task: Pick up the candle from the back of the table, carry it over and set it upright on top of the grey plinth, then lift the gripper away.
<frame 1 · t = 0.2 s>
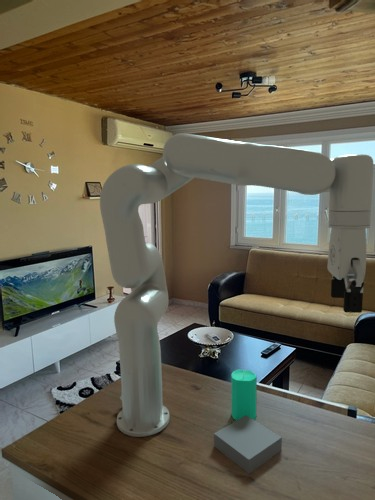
hand: (345, 304, 73), 31 cm above the table, tool pointing down, fingers open, 9 cm apart
candle: (243, 415, 88), on the table
plinth: (247, 448, 76), on the table
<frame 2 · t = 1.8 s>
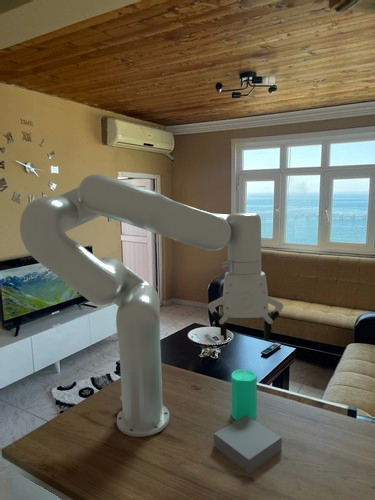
hand: (245, 338, 85), 20 cm above the table, tool pointing down, fingers open, 9 cm apart
nothing on the table moved.
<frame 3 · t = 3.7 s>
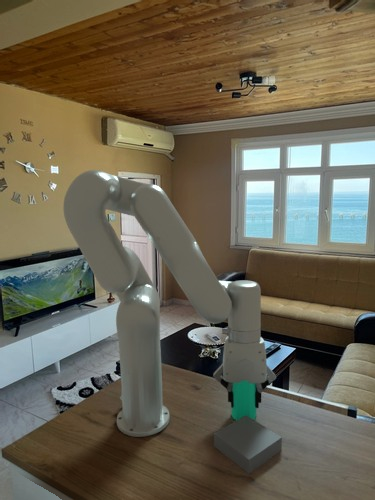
hand: (244, 403, 87), 3 cm above the table, tool pointing down, fingers closed on candle, 5 cm apart
candle: (243, 415, 88), on the table, touching gripper
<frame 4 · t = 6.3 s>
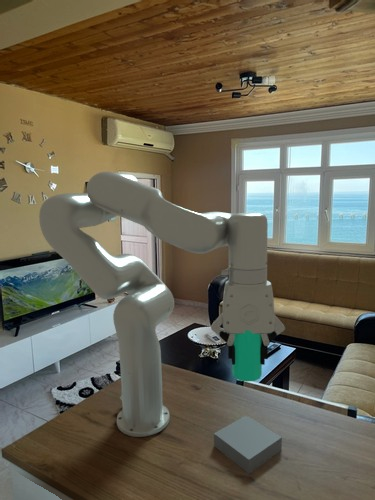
hand: (247, 360, 74), 19 cm above the table, tool pointing down, fingers closed on candle, 5 cm apart
candle: (246, 375, 75), point 16 cm above the table, touching gripper
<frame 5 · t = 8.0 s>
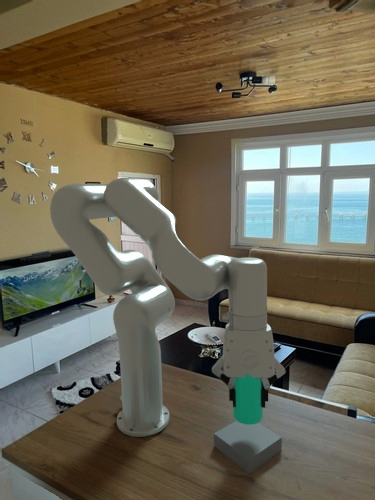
hand: (248, 402, 75), 10 cm above the table, tool pointing down, fingers closed on candle, 5 cm apart
candle: (247, 416, 75), point 7 cm above the table, touching gripper
when the fingers open (7 cm above the table, at t = 9.1 s): candle stays where it is, resting on plinth.
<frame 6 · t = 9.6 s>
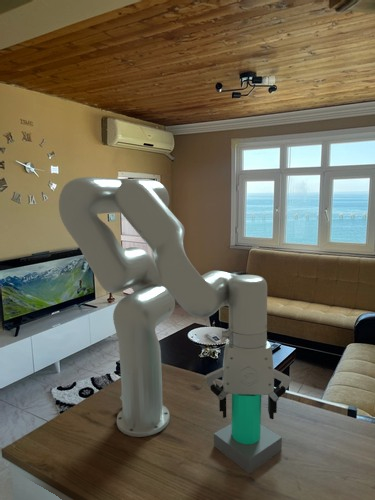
hand: (247, 414, 75), 8 cm above the table, tool pointing down, fingers open, 9 cm apart
candle: (245, 435, 76), point 3 cm above the table, touching plinth
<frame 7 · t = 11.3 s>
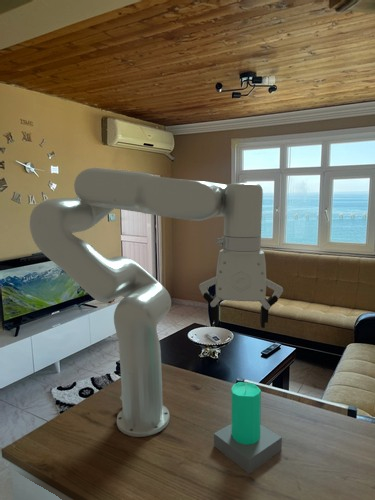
hand: (239, 324, 76), 26 cm above the table, tool pointing down, fingers open, 9 cm apart
nothing on the table moved.
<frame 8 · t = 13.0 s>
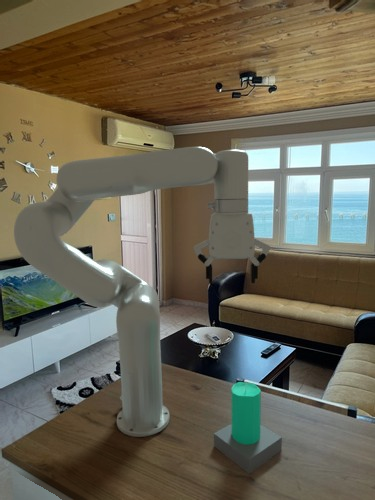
hand: (231, 282, 83), 33 cm above the table, tool pointing down, fingers open, 9 cm apart
nothing on the table moved.
at the end: candle 0.3 cm off-centre on the plinth, point 2.8 cm above the plinth's base; candle tilted 0°; the gripper is holding nothing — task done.
